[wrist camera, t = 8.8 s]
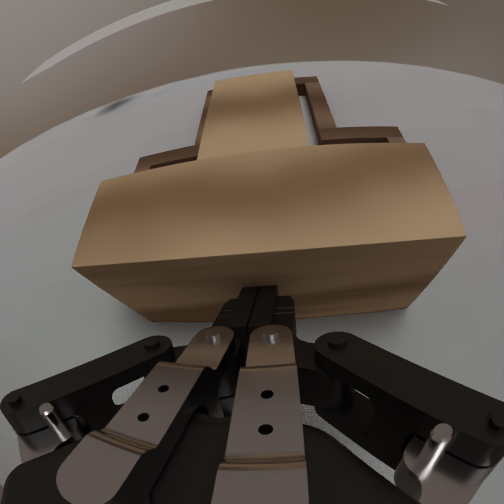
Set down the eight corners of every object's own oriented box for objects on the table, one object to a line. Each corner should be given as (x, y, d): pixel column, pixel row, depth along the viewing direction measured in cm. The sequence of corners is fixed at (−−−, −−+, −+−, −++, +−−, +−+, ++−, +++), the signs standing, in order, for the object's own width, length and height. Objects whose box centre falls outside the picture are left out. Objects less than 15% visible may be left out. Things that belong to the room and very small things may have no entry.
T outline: (432, 228, 17) (439, 216, 16) (121, 256, 21) (111, 247, 20) (364, 86, 27) (364, 75, 25) (167, 111, 30) (163, 102, 29)
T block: (408, 307, 15) (466, 235, 8) (152, 321, 18) (71, 267, 11) (366, 153, 21) (374, 68, 15) (179, 173, 24) (141, 100, 17)
